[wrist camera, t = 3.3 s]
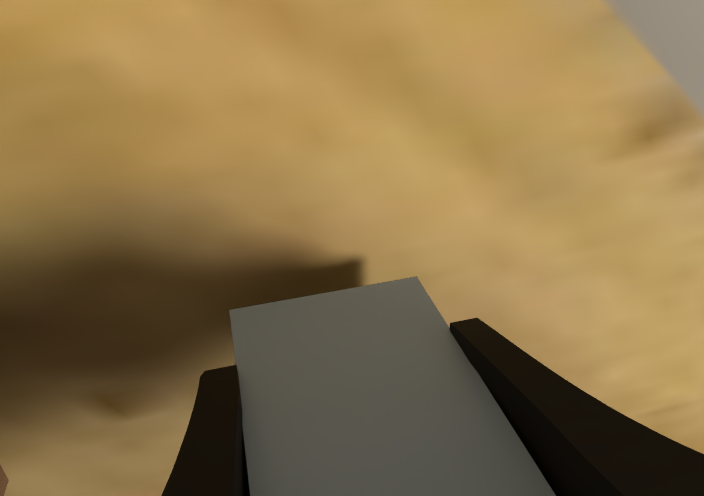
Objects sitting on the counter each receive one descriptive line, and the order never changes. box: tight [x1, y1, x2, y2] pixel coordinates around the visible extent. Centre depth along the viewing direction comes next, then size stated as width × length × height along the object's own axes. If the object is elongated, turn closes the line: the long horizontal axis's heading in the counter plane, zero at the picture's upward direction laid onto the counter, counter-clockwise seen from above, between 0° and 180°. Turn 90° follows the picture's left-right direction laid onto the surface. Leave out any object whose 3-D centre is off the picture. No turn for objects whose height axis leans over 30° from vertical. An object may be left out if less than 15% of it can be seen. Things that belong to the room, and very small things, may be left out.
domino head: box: [229, 276, 556, 496], centre depth 10 cm, size 2×4×8 cm, turn 92°
